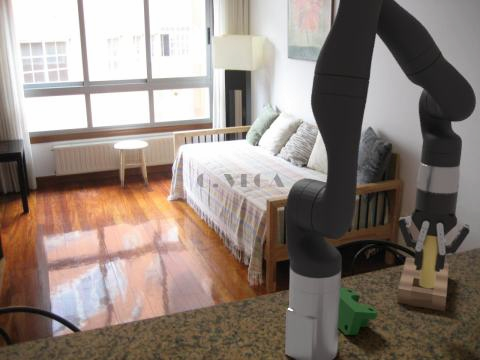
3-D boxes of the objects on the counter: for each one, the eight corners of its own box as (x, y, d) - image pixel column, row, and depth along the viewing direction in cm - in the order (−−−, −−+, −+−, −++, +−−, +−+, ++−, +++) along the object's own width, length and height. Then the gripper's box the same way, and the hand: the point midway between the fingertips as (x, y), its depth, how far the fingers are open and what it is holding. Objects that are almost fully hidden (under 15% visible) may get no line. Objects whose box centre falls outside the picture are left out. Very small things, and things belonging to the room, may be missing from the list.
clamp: (363, 348, 106) (384, 320, 102) (338, 347, 104) (358, 319, 99) (342, 302, 116) (361, 275, 111) (319, 301, 114) (337, 272, 109)
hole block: (444, 311, 112) (446, 296, 111) (396, 302, 116) (398, 288, 115) (447, 276, 128) (448, 263, 127) (405, 270, 132) (406, 257, 131)
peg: (430, 289, 103) (436, 238, 100) (416, 285, 105) (421, 234, 102) (437, 284, 105) (443, 234, 103) (422, 280, 107) (428, 230, 105)
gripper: (477, 185, 101) (466, 267, 105) (402, 178, 106) (395, 256, 110) (477, 195, 94) (465, 282, 98) (397, 186, 99) (390, 269, 104)
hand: (428, 268), depth 104 cm, fingers closed on peg, 3 cm apart
